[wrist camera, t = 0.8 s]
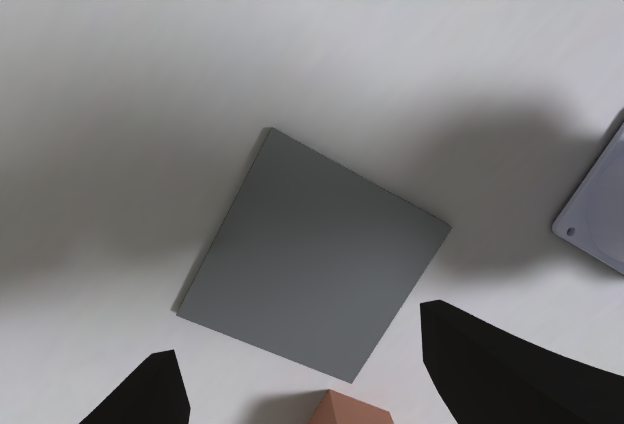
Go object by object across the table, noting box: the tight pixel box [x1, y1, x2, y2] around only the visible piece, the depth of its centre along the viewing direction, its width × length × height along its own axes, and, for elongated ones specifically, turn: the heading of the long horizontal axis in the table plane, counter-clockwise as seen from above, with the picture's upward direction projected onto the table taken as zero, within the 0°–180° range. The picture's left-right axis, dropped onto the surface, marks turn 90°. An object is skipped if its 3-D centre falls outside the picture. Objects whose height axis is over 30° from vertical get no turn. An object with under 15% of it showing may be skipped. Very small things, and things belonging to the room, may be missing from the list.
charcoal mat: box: [176, 128, 452, 384], centre depth 19 cm, size 11×11×1 cm
